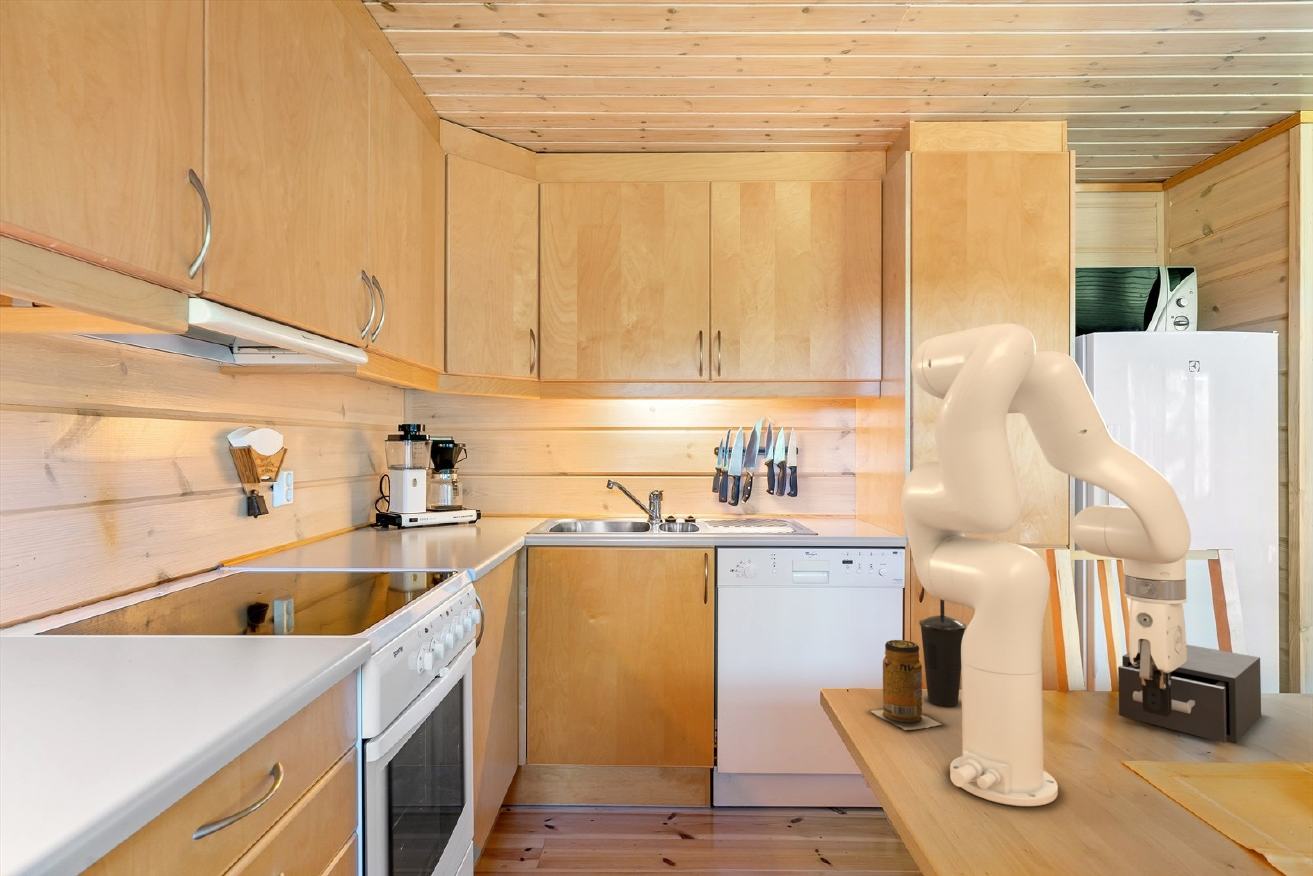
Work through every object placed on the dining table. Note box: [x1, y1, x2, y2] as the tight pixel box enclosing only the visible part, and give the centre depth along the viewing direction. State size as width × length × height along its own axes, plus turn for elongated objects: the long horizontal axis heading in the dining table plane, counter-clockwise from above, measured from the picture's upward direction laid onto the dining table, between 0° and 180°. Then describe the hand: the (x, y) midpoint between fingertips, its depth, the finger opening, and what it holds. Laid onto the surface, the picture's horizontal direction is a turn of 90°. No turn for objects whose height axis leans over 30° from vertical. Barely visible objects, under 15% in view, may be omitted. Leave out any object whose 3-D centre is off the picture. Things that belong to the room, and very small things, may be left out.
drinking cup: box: [918, 599, 968, 708], centre depth 119 cm, size 8×8×20 cm
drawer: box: [1117, 665, 1230, 744], centre depth 109 cm, size 20×13×8 cm
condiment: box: [870, 639, 943, 731], centre depth 112 cm, size 7×8×12 cm
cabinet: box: [1121, 644, 1262, 744], centre depth 113 cm, size 17×15×10 cm
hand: (1157, 712), depth 102 cm, fingers closed
